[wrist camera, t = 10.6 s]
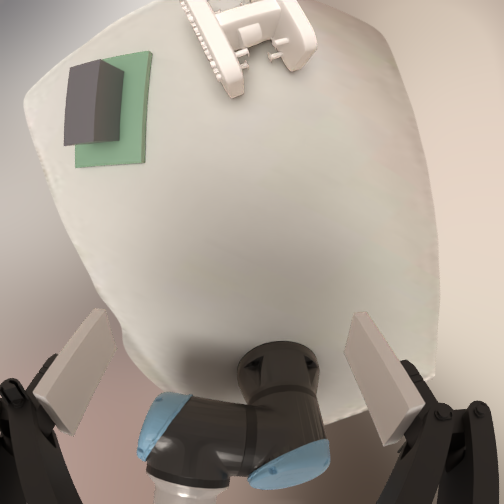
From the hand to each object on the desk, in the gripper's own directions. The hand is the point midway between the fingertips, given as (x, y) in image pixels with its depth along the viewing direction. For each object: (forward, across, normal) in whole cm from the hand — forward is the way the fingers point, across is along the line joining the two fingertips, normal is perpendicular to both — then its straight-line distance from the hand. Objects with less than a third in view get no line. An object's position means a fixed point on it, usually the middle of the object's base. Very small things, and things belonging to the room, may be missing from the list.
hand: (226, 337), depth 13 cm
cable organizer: (+25, 0, -25) cm, 35 cm away
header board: (+25, +18, -16) cm, 35 cm away
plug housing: (+23, +18, -16) cm, 34 cm away
